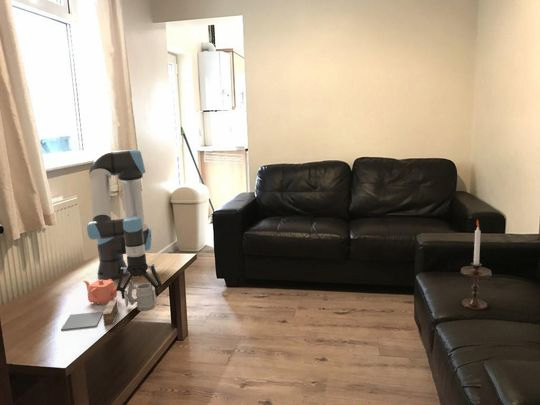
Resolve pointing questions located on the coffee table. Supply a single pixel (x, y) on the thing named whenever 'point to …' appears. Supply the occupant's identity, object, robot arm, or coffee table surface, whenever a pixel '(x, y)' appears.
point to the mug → (142, 296)
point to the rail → (110, 313)
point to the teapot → (101, 291)
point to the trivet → (82, 321)
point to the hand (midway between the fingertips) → (141, 304)
